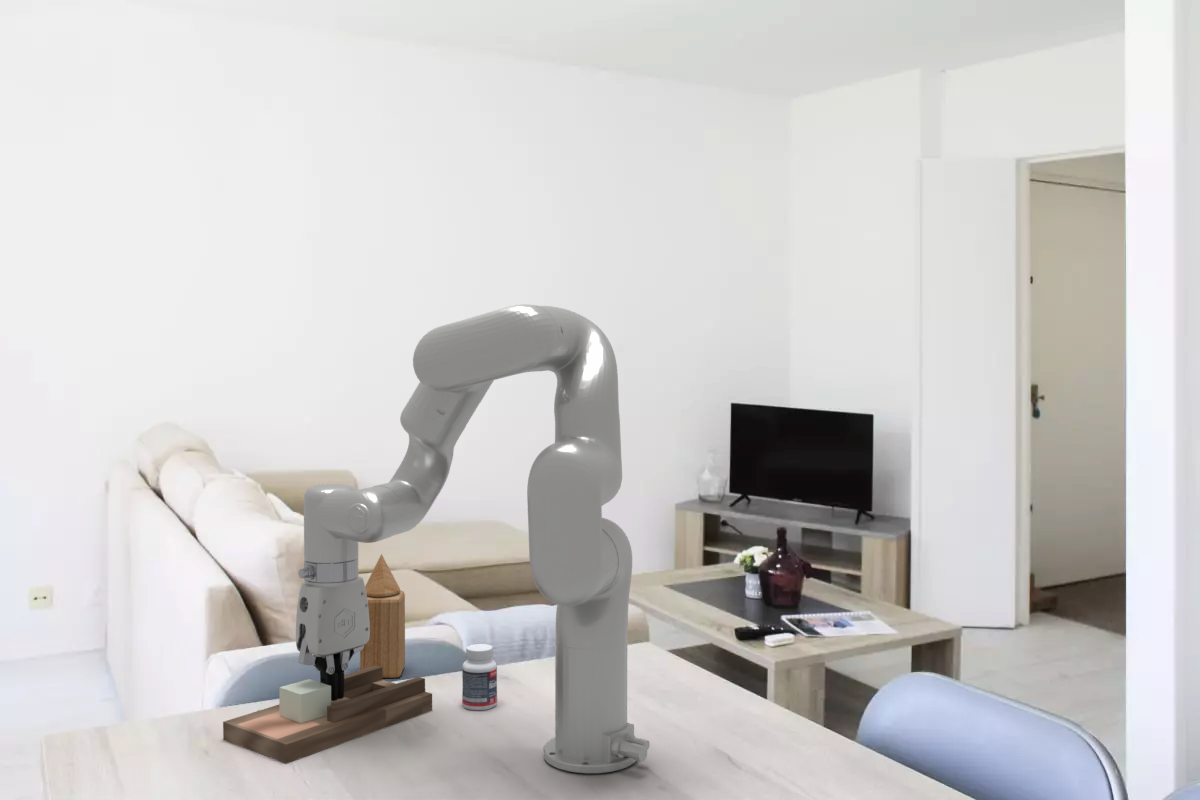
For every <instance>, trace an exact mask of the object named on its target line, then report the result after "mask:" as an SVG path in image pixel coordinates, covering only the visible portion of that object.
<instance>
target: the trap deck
mask: <svg viewBox="0 0 1200 800" xmlns="http://www.w3.org/2000/svg"><path fill="white" fill-rule="evenodd" d="M432 711H433V693H431V692H427V691H426V678H424V677H421V676H417V677H413V678H410V679H407V680H404V681H400V682H398V683H395V682H391V681H387V680H384V679H383V678H382V667H380V666H372V667H369V668H366V669H362V670H359V669H358V670H357V671H353V672H350V673H347V674H344V698H342V699H338V700H336V701H332V700H331V705H330V706H327V716H323V717H320V718H317V719H314V720H310V721H307V722H304V723H299V722H296V721H293V720H290V719H288V718H285V717H282V716H280V713H279V704H275V705H273V706H269V707H266V708H263V709H259V710H257V711H254V712H251V713H247V714H243V715H241V716H237V717H235V718H234V717H233V718H231V719H228V720H225V721H222V723H223V724H222V730H223V733H222V736H223V737H222V739H223V740H224V741H226V742H228V743H230V744H234V745H236V746H239V747H241V746H242V748H245V749H247V750H249V749H250V751H252V752H255V753H257V752H258V753H257V754H260V753H261V754H260V755H262V756H266V757H269V758H271V759H274V760H276V761H278V762H282V763H284V764H288V763H291V762H294V761H297V760H301V759H302V758H304V757H307V756H311V755H313V754H316V753H319V752H322V751H324V750H327V749H330V748H332V747H336V746H338V745H341V744H343V743H346V742H349V741H352V740H354V739H357V738H360V737H362V736H365V735H368V734H370V733H374V732H376V731H378V730H381V729H385V728H387V727H390V726H393V725H395V724H398V723H401V722H403V721H406V720H410V719H412V718H415V717H418V716H420V715H424V714H426V713H428V712H432Z"/></svg>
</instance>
